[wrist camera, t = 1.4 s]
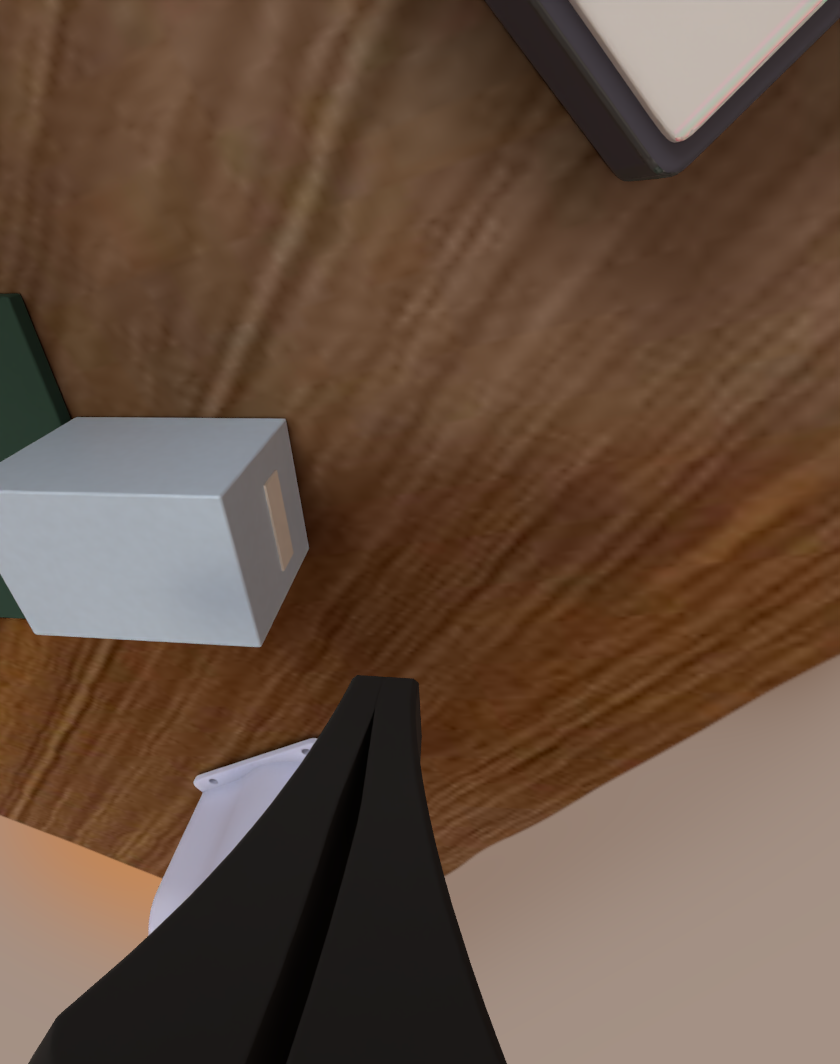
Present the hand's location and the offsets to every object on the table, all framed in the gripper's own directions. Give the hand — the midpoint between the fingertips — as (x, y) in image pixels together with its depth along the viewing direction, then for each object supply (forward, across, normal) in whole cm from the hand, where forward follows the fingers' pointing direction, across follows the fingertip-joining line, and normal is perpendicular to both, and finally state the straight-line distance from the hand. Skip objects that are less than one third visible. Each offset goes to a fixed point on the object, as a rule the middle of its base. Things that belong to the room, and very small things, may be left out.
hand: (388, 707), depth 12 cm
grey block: (+7, +9, 0) cm, 11 cm away
